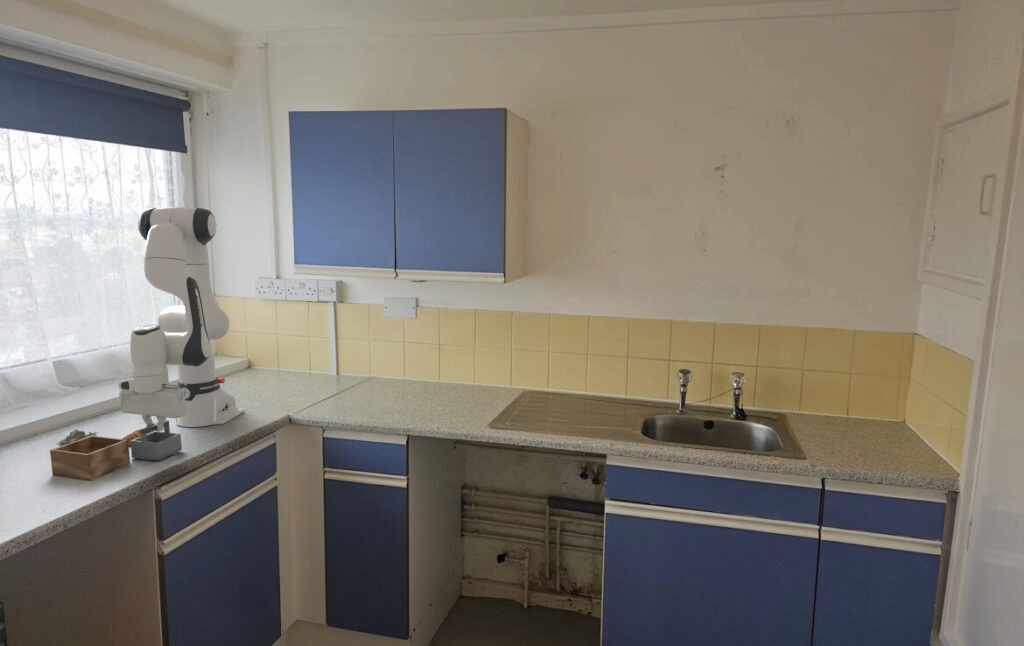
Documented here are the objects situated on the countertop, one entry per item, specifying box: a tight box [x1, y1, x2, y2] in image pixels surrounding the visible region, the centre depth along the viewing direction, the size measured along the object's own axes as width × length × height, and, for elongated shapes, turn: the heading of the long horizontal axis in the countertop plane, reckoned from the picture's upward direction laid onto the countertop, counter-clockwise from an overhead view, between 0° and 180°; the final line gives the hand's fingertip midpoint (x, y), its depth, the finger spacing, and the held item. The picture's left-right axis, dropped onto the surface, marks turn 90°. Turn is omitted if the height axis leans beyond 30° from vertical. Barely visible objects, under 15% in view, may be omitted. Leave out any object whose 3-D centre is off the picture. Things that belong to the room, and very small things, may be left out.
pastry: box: [121, 429, 155, 446], centre depth 203 cm, size 9×7×4 cm
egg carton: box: [56, 428, 100, 447], centre depth 199 cm, size 11×8×4 cm
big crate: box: [49, 435, 131, 482], centre depth 180 cm, size 13×13×7 cm
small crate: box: [130, 419, 183, 462], centre depth 191 cm, size 9×9×9 cm
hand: (155, 430), depth 191 cm, fingers closed on small crate
